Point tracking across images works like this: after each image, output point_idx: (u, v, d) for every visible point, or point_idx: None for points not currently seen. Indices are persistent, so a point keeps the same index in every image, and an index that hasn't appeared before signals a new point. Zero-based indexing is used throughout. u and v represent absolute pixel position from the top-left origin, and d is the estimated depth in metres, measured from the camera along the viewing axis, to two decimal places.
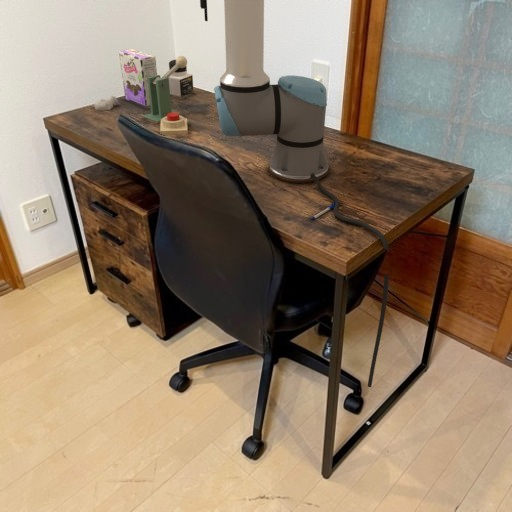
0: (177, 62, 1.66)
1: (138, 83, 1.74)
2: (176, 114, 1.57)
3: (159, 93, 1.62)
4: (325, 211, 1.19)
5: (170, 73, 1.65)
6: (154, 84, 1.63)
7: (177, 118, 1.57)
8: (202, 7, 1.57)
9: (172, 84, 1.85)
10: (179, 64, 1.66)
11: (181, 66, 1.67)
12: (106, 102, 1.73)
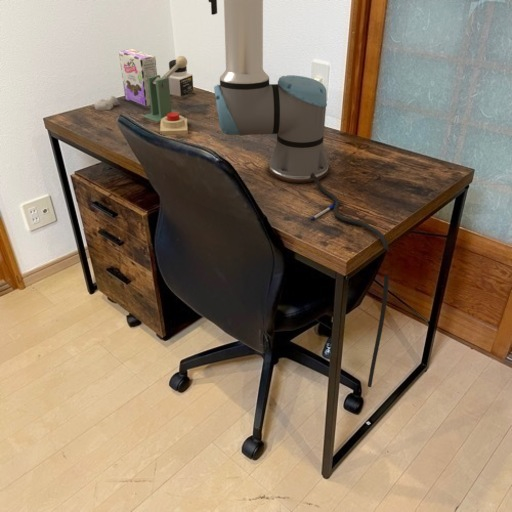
0: (177, 62, 1.66)
1: (138, 83, 1.74)
2: (176, 114, 1.57)
3: (159, 93, 1.62)
4: (325, 211, 1.19)
5: (170, 73, 1.65)
6: (154, 84, 1.63)
7: (177, 118, 1.57)
8: (210, 1, 1.63)
9: (172, 84, 1.85)
10: (179, 64, 1.66)
11: (181, 66, 1.67)
12: (106, 102, 1.73)
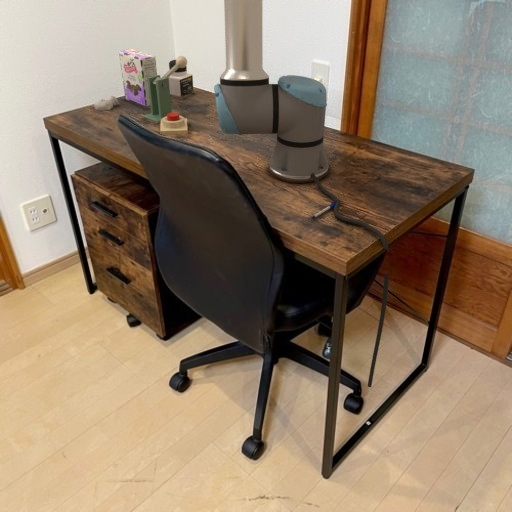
0: (177, 62, 1.66)
1: (138, 83, 1.74)
2: (176, 114, 1.57)
3: (159, 93, 1.62)
4: (325, 210, 1.19)
5: (170, 73, 1.65)
6: (154, 84, 1.63)
7: (177, 118, 1.57)
8: None
9: (172, 84, 1.85)
10: (179, 64, 1.66)
11: (181, 66, 1.67)
12: (106, 102, 1.73)
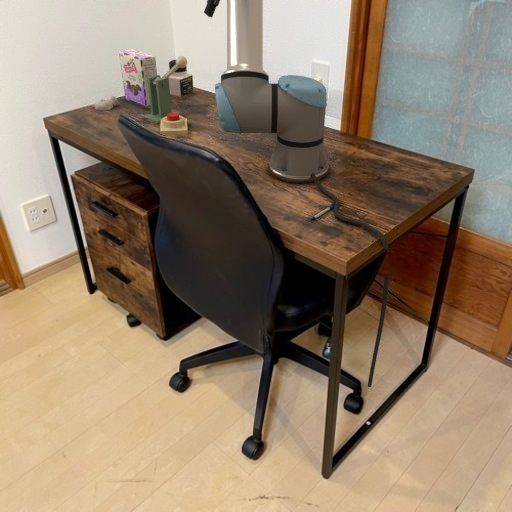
0: (177, 62, 1.66)
1: (138, 83, 1.74)
2: (176, 114, 1.57)
3: (159, 93, 1.62)
4: (325, 211, 1.19)
5: (170, 73, 1.65)
6: (154, 84, 1.63)
7: (177, 118, 1.57)
8: (207, 1, 1.65)
9: (172, 84, 1.85)
10: (179, 64, 1.66)
11: (181, 66, 1.67)
12: (106, 102, 1.73)
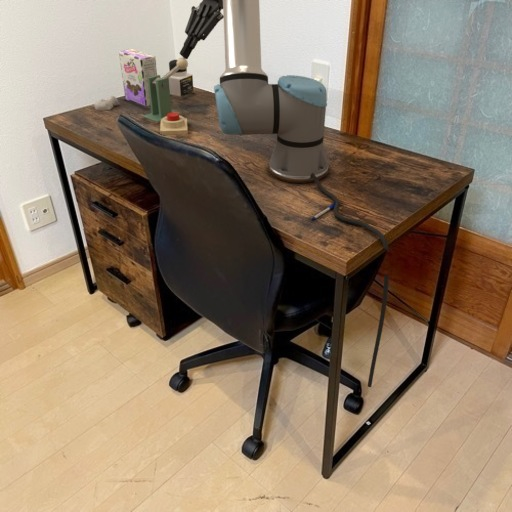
0: (178, 63, 1.67)
1: (138, 83, 1.74)
2: (176, 114, 1.57)
3: (159, 93, 1.62)
4: (325, 211, 1.19)
5: (170, 74, 1.65)
6: (154, 84, 1.63)
7: (177, 118, 1.57)
8: None
9: (172, 84, 1.85)
10: (180, 65, 1.67)
11: (182, 68, 1.67)
12: (106, 102, 1.73)
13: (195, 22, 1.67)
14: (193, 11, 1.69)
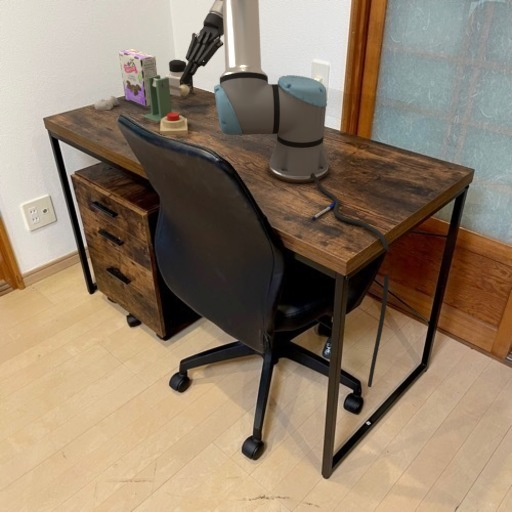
0: (181, 86, 1.71)
1: (138, 83, 1.74)
2: (176, 114, 1.57)
3: (159, 93, 1.62)
4: (325, 210, 1.19)
5: (171, 86, 1.68)
6: (155, 80, 1.63)
7: (177, 118, 1.57)
8: None
9: (172, 84, 1.85)
10: (182, 88, 1.71)
11: (182, 91, 1.71)
12: (106, 102, 1.73)
13: (195, 49, 1.71)
14: (193, 38, 1.73)
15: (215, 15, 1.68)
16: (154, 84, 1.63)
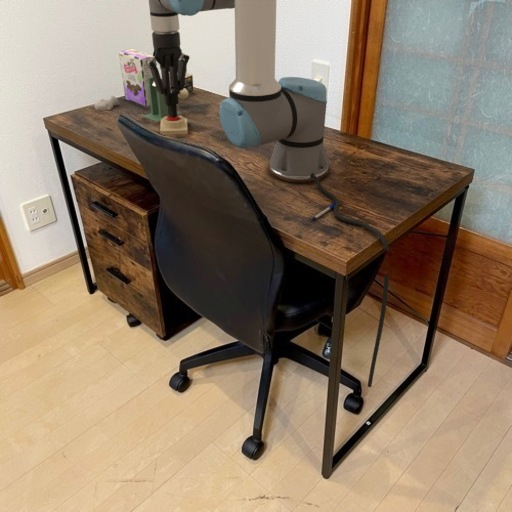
0: None
1: (138, 83, 1.74)
2: None
3: (159, 93, 1.62)
4: (326, 211, 1.19)
5: None
6: None
7: (177, 120, 1.57)
8: (169, 104, 1.54)
9: None
10: (181, 91, 1.71)
11: (181, 94, 1.71)
12: (106, 102, 1.73)
13: (167, 78, 1.50)
14: (155, 67, 1.46)
15: (177, 35, 1.43)
16: (154, 83, 1.63)
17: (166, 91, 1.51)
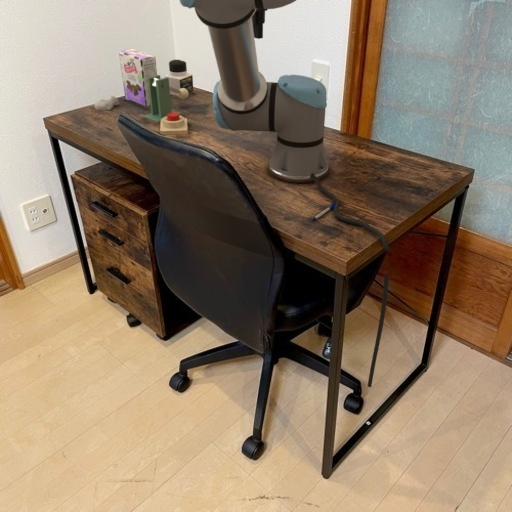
0: (180, 89, 1.71)
1: (138, 83, 1.74)
2: (176, 114, 1.57)
3: (159, 93, 1.62)
4: (326, 211, 1.19)
5: (171, 88, 1.68)
6: (155, 79, 1.63)
7: (177, 118, 1.57)
8: (255, 23, 1.35)
9: (172, 84, 1.85)
10: (181, 91, 1.71)
11: (181, 94, 1.71)
12: (106, 102, 1.73)
13: None
14: None
15: None
16: (154, 83, 1.63)
17: None
